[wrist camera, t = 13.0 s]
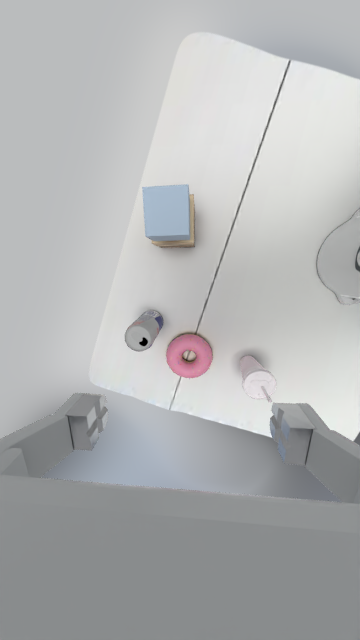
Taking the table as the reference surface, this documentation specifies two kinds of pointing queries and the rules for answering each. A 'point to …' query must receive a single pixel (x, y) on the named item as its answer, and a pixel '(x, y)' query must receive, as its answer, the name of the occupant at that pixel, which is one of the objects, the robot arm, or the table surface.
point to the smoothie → (256, 379)
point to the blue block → (167, 212)
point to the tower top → (191, 241)
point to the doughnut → (191, 344)
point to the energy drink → (144, 331)
